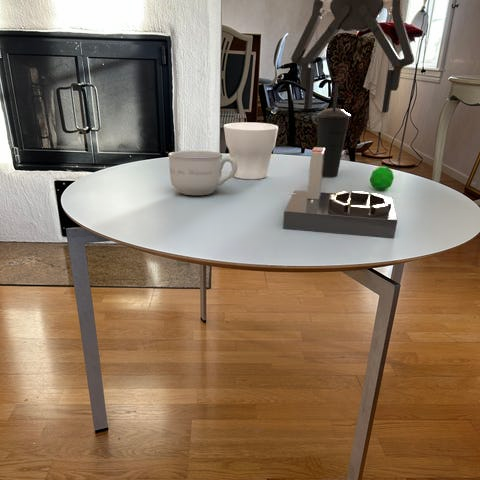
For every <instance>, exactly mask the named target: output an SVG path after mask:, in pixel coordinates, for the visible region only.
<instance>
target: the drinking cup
mask: <svg viewBox="0 0 480 480" xmlns="http://www.w3.org/2000/svg"><path fill="white" fill-rule="evenodd" d="M338 92H339V82H335V84H334V94H333V104H332V107H330V108H326V109H323V110H321V111H319V112H317V113H316V117H317V147H320V148H325V153H324V163H323V173H322V178H336V177H338V174H339V169H340V165H341V160H342V154H343V150H344V144H345V140H346V136H347V130H348V125H349V121H350V118H351V117H352V115H351V114H350V113H348V111H347V112H346V111H345V110H344V109H341V108H338V107H337V100H338Z"/></svg>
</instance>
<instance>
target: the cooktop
mask: <svg viewBox="0 0 480 480" xmlns="http://www.w3.org/2000/svg"><path fill="white" fill-rule="evenodd" d="M333 193H334V192H322V191H321V192H320V196H319V199H307V194H308V190H293V192H288V195H290V198H289V200H288V202H287V204H286V206H285V209H284V211H283V223H282V224H283V225H282V229H284V230H295V231H308V232H318V233H319V232H320V233H329V234H330V233H331V234H343V235H353V236H354V235H355V236H366V237H377V238H387V239H395V236H396V231H397V225H398V218H397V217H398V216H397V213H396V208H395V204H394V200H393V197H389V196H386V197H387V199H390V200H391V209H390V211H389V213H388V214H386V215H383V216H379V217H354V216H348V215H343V214H340V213H337V212H334V211H332V210H331V209H330V208H329V199H330V195H333ZM350 197H351V193H349V198H350ZM368 200H370V195H368Z"/></svg>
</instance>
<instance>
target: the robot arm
mask: <svg viewBox="0 0 480 480" xmlns="http://www.w3.org/2000/svg"><path fill="white" fill-rule="evenodd" d="M402 8H403V1H402V0H331V1H330V0H314V1H313V5H312V10H311V16H310V17H309V20H308V22H307V24H306V26H305V28H304V29H303V32H302V34H301V36H300V38H299V40H298V42H297V45H296V47H295V49H294V50H293V53H292V54H291V57H290V60H291V62H292V63H295V64H297V65H299V66H300V83H299V85H300V87H301V88H305V89H304V90H305V91H304V103H303V105H304V106H303V109H304V110H308V109H312V108H313V99H314V98H313V97H314V86H315V73H316V67H314V66H312V65H313V63H314V62H315V60H316V59H317V58H318V57H319V55H320V54H321V53H322V52H323V51H324V50H325V48H326V47H327V45H328V44H329V43H330V42H331V41H332V39H333V38H334V37H335V36H336V35H337V34H338V33H339V32H340V31H341V30H342V31H343V32H353V31H358V32H365V31H367V30H369V31H370V32H371V34H373V36H374V38H375V39H376V41H377V43H378V44H379V46H380V48H381V49H382V51H383V53H384V54H385V56H386V57H387V60H388V61H389V63H390V64H391V65H392V68H388V69H387V73H386V74H387V75H386V81H385V87H384V88H385V89H384V96H383V101H382V108H381V113H382V114H383V113H386V114H387V113H389V109H390V101H391V96H392V92H393V91H398V89H399V87H400V80H401V73H402V70H403V69H404V68H405V67H408V66H410V65H412V64H414V63H415V56H414V53H413V49H412V46H411V43H410V39H409V36H408V32H407V30H406V24H405V21H404V19H403V16H402V12H403V11H402V10H403V9H402ZM384 9H385V10H386V11H387V14H388V15H390V16H392V17H391V18H392V22H393V25H394V28H395V31H396V35H397V38H398V41H399V45H400V48H401V52H402V55H403V58H400V57H399V55H398V53H397V52H396V50H395V48H394V47H393V45H392V43H391V41H390V40H389V39H388V37H387V35H386V33H385V32H384V30H383V29H382V27H381V25H380V23H379V22H378V20H377V19H378V17H379V16H380V14H381V13H382V11H383V10H384ZM329 10H330V12H331V13H332V16H333V17H334V18H333V20H332V21H331V22H330V24H329V25H328V26H327V28H326V30H325V31H324V32H323V33H322V35H321V36H320V37H319V39H317V41H316V42H315V43H314V44H313V46H312V47H311V48H310V50H309V51H308V52H307V54H306V55H305V53H306V51H307V50H308V48H309V45H310V43H311V42H312V39H313V37H314V35H315V33H316V31H317V29H318V27H319V25H320V23H321V20H322V18H323V16H326V15H327V13H328V11H329Z"/></svg>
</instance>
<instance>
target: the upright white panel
mask: <svg viewBox="0 0 480 480" xmlns="http://www.w3.org/2000/svg"><path fill="white" fill-rule="evenodd" d="M324 153H325V148H320V147H318V146H314V147H313V148H312V149H311V152H310V160H309V161H310V162H309V170H308V171H309V173H308V184H307V191H308V194H307V199H319V196H320V192H322V183H323V177H322V173H323V163H324Z"/></svg>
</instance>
